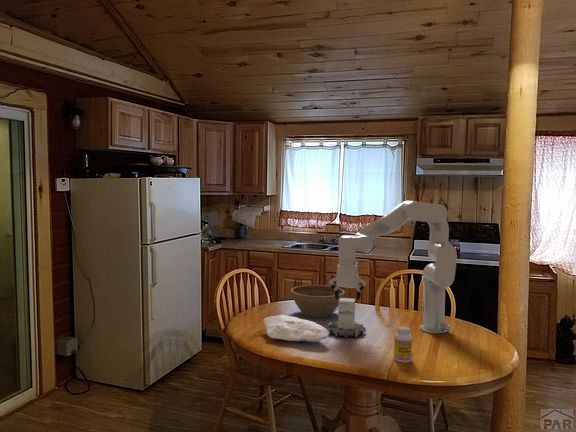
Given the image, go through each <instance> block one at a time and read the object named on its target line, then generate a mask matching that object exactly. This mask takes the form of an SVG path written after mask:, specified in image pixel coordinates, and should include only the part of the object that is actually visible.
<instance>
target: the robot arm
mask: <svg viewBox="0 0 576 432" xmlns="http://www.w3.org/2000/svg"><path fill="white" fill-rule="evenodd" d="M447 218H448V210H447V208H446V206H444V205H442V204H438V203H430V202H422V201H415V200H405V201H402V202H401V203H399V204H398V205H396V206H395V207H394V208H392V209H391V210H390V211H388V212H387V213H386V214H385V215H383V216H382V217H380V218H378V219H376V220H375V221H372V222H371V223H369V224H368V225H365V227H363V228H361V229H360V230H359V231H357V232H356V233H355V234H354V235H340V236H339V237H338V264H337V267H336V268H337V269H336V274H335V275H336V276H335V277H334V278H332V279H329V281H328V283H329V286H331V287H332V288H333V289H334V291H335V297H336V299H338V298H339V290H338V288H349V289H354V288H355V289H356V291H357V292H356V300H357V301H360V299H361V298H362V295H361V293H362V292H361V291H362V290H364V289H365V288H366V285H367V281H365V280H364V279H362V278H360V276H359V268H358V264H360V263H359V260H357V259H356V252H360V253H361V252H363V253H365V252H369V251H371V250H372V249H373V247H374V240H375V239H377V238H378V237H381V236H384V235H388V234H392V233H393V232H395V231H396V230H398V229H399V228H401V227H402V226H404V225H405V224H406V223H407V222H409V221H410V220H411V221H416V222H424V223H427V224H428V227H429V240H428V247H427V255H428V257H429V258H430V259H432V260H433V261H435V262H431V263H429V264H427V265H426V266H425V267H424V268H423V271H422V280H423V281H422V282H423V317H422V318H423V321H422V322H423V323H422V324H420V325H419V329H420V331H422V332H425V333H429V334H445V333H447V332H448V331H450V332H451V331H452V325H449V324H447V321H446V320H445V311H446V309H445V308H446V307H445V306H446V304H445V303H446V288H448V287H451V285H452V284H453V283H454V281H455V278H456V277H455V276H456V271H457V270H456V269H457V260H458V255H457V254H458V253H457V249H456V248H455V247H454V245H452V244H451V243H449V238H450V237H449V235H450V227H449V223H448V220H447ZM334 282H335V283H336V285H335V284H334ZM360 283H361V284H362V285H361V286H360Z"/></svg>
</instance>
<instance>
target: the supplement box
mask: <svg viewBox="0 0 576 432" xmlns="http://www.w3.org/2000/svg"><path fill="white" fill-rule="evenodd" d="M337 309H338V313H337V315H338V319H337V322H338V328H346V329H354V322H355V319H356V318H355V317H356V316H355V314H356V313H355V312H356V311H355V310H356V298H347V297H344V298H340V299H339V306H338V308H337Z"/></svg>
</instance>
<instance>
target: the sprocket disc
mask: <svg viewBox="0 0 576 432" xmlns="http://www.w3.org/2000/svg"><path fill="white" fill-rule="evenodd" d="M328 325H329V326H326V325H325V328H326V329H327V330H328V331H329V335H334V336H335V337H344V338H349V337H355V338H357V337H359V336H360V335H361V336H364V335H365V333H366V332H367V331H366V330H367V329H366V326H364V324H362V323H358V322H356V321H354V329H346V328H338V321H334V322H329V323H328Z"/></svg>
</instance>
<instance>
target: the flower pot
mask: <svg viewBox="0 0 576 432" xmlns="http://www.w3.org/2000/svg"><path fill="white" fill-rule="evenodd" d="M338 290H339V298H338V299H336V297H335V291H334V289H333V288H332V287H331V285H321V284H307V285H298V286H295V287H293V288H292V287H291V289H290V297H291V298H292V299H293V300H294V303H295V305H296V306H297V309H298V310H300V312H301V313H303V315H304V316H305V317H308V318H314V319H316V318H317V319H319V318H320V319H321V318H327V317H330V316H331V314H332V313H334V312H335V311H336V310H337V309H338V308H339V299H340V298H346V297H345V296H346V294H345V293H346V291H345V290H344V289H343V288H342V287H339V288H338Z"/></svg>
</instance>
